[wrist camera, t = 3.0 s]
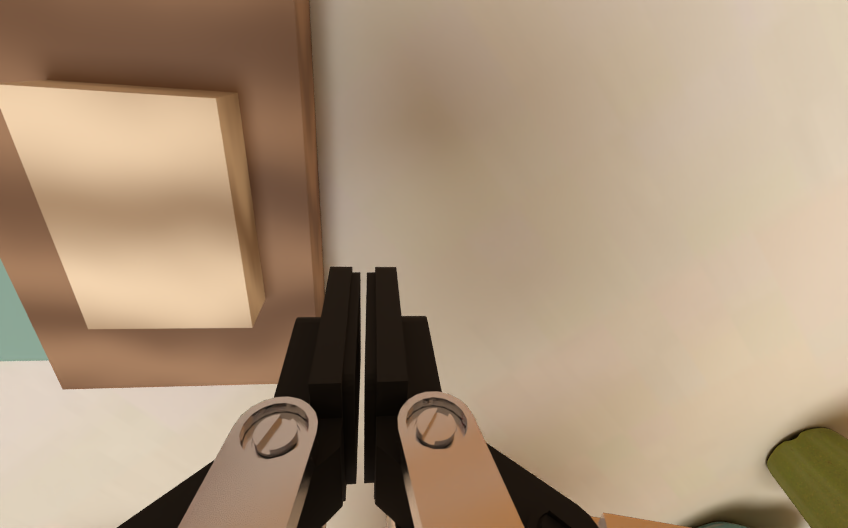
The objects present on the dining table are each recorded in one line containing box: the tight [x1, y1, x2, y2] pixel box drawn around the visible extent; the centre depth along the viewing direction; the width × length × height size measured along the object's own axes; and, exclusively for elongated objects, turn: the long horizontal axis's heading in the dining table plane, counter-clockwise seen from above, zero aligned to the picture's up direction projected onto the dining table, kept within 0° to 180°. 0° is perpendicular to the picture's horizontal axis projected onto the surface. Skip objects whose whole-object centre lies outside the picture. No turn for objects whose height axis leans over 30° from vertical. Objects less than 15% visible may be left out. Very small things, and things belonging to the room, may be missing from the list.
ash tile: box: [0, 80, 265, 329], centre depth 17 cm, size 10×7×2 cm
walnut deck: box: [0, 0, 325, 389], centre depth 19 cm, size 22×14×4 cm, turn 176°
